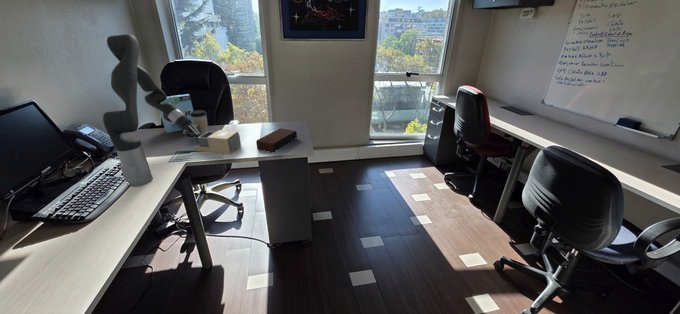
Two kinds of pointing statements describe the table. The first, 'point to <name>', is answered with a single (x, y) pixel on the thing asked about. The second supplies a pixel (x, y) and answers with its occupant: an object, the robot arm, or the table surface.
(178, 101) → the gum box
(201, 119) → the coffee cup
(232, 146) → the tray
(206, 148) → the mailer sleeve
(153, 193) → the table surface
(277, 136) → the brown brick
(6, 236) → the table surface
